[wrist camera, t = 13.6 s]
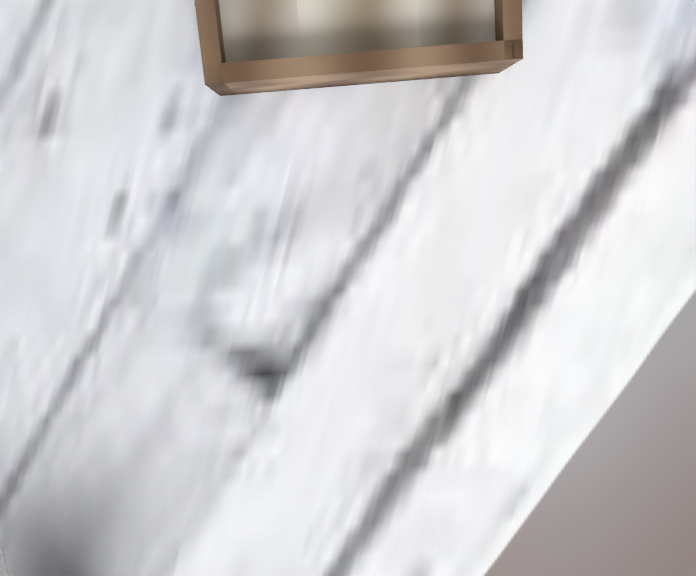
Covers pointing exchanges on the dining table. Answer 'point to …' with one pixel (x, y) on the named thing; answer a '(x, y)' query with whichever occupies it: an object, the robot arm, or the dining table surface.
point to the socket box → (352, 41)
